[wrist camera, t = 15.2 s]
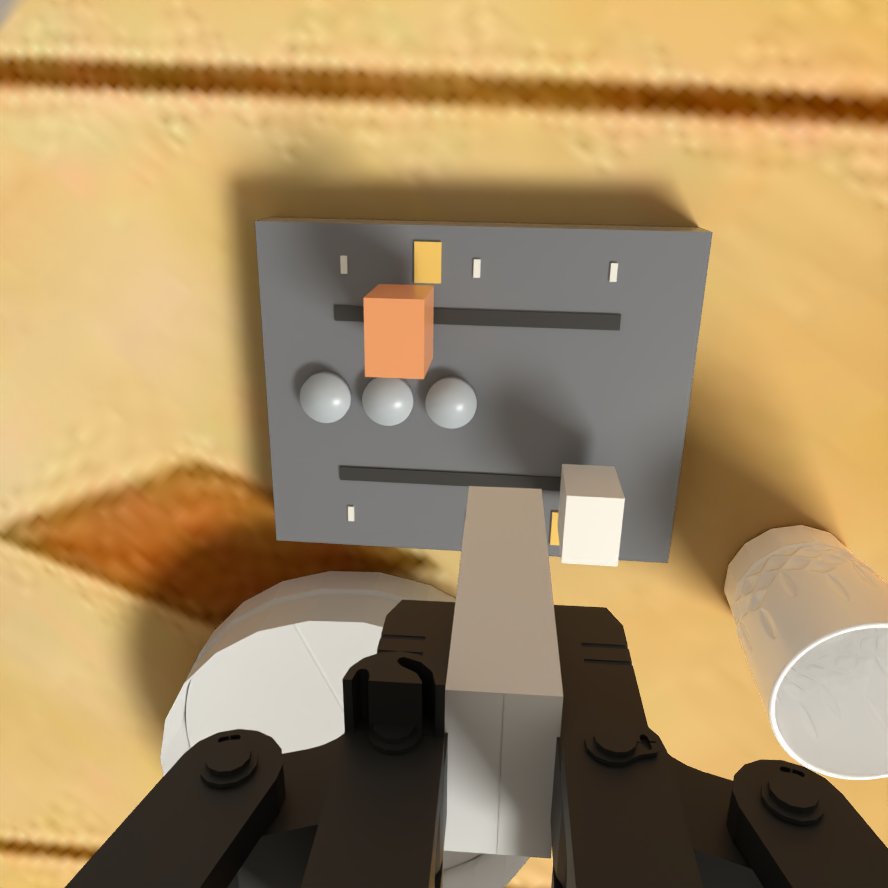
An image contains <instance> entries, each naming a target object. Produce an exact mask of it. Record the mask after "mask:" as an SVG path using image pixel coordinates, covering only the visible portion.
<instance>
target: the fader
mask: <svg viewBox="0 0 888 888" xmlns="http://www.w3.org/2000/svg"><path fill="white" fill-rule="evenodd" d="M363 301H364V350H365V377H381V378H405V379H424V378H425V375H426V373H427V371H428V368H429V366H430V364H431V361H432V359H433V316H434V286H432V285H400V284H378V285H377V286H376V287H375V288H374V289H373V290H372V291H370V292H369V293H368V294H367V295H366V296H365V297H364V298H363Z"/></svg>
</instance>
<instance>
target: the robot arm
mask: <svg viewBox="0 0 888 888" xmlns="http://www.w3.org/2000/svg"><path fill="white" fill-rule="evenodd" d="M342 682H343V704H344V727H345V732H344V734H342V735H341V736H340V737H338V738H337V739H335V740H333V741H330V742H328V743H326V744H324V745H321V746H317V747H314V748H310V749H305V750H300V751H294V752H289V753H283V754H282V749H281V748H280V746H279V745H278V744H277V743H276V741H275V740H274V739H273V738H272V737H270V736H268V735H266V734H264V733H261V732H259V731H256V730H245V729H235V730H229V731H224V732H218V733H216V734H214V735H212V736H209V737H207V738H205V739H203V740H200V741H199V742H197V743H196V744H195V745H194V746H193V747H191V748H190V749H189V750H188V751H187V752H185V753H184V754H183V755H182V756H181V758H180V759H179V760H178V761H177V762H176V763H175V764H174V765H173V767H172V768H171V769H170V770H169V771H168V772H167V773H166V774H165V776H164V777H163V778H162V779H161V780H160V781H159V782H158V783H157V784H156V786H155V787H154V788H153V789H152V790H151V791H150V792H149V793H148V795H147V796H146V797H145V798H144V799H143V800H142V801H141V802H140V804H139V805H138V806H137V807H136V808H135V809H134V810H133V811H132V813H131V814H130V815H129V816H128V817H127V818H126V819H125V820H124V822H123V823H122V824H121V825H120V826H119V827H118V828H117V829H116V831H115V832H114V833H113V834H112V835H111V836H110V837H109V838H108V840H107V841H106V842H105V843H104V844H103V845H102V846H101V847H100V848H99V850H98V851H97V852H96V853H95V854H94V855H93V856H92V857H91V859H90V860H89V861H88V862H87V863H86V864H85V865H84V866H83V868H82V869H81V870H80V871H79V872H78V873H77V874H76V875H75V877H74V878H73V879H72V880H71V881H70V882H69V883H68V884H67V886H66V887H65V888H442V887H443V852H444V851H457V852H471V853H485V854H499V855H512V856H526V857H540V858H551V849H552V852H553V873H552V886H551V888H888V848H887V847H886V846H885V845H884V843H883V842H882V841H881V840H880V839H879V837H878V836H877V835H876V834H875V833H874V831H873V830H872V829H871V828H870V827H869V825H868V824H867V823H866V822H865V821H864V819H863V818H862V817H861V816H860V815H859V813H858V812H857V811H856V810H855V809H854V807H853V806H852V805H851V804H850V803H849V801H848V800H847V799H846V798H845V797H844V795H843V794H842V793H841V792H840V791H838V790H837V789H836V788H835V787H834V786H833V785H832V784H831V783H830V782H829V781H827V780H826V779H825V778H823V777H822V776H820V775H818V774H816V773H814V772H813V771H811V770H809V769H807V768H805V767H803V766H799V765H796V764H793V763H789V762H786V761H782V760H758V761H755V762H752V763H748V764H745V765H744V766H743V767H742V768H741V769H740V770H739V771H738V772H737V773H736V774H735V775H734V780H733V781H732V780H728V779H725V778H722V777H718V776H715V775H712V774H709V773H705V772H702V771H700V770H697V769H694V768H692V767H689V766H687V765H685V764H683V763H682V762H680V761H678V760H676V759H675V758H673V757H672V756H670V755H669V754H668V753H667V750H666V749H665V747H664V745H663V743H662V741H661V739H660V737H659V736H658V735H657V734H655V733H654V732H653V731H652V730H651V729H650V728H649V727H648V725H647V721H646V717H645V713H644V709H643V705H642V701H641V697H640V693H639V689H638V685H637V681H636V677H635V673H634V669H633V666H632V661H631V657H630V653H629V649H628V645H627V641H626V637H625V633H624V629H623V625H622V624H621V623H620V622H619V621H618V620H617V619H616V618H615V617H614V616H613V615H612V613H611V612H610V611H609V610H608V609H607V608H603V607H583V606H563V605H554V604H553V594H552V585H551V575H550V566H549V556H548V547H547V537H546V528H545V518H544V509H543V499H542V490H541V489H531V488H506V487H481V486H469V491H468V500H467V508H466V517H465V525H464V534H463V542H462V551H461V560H460V568H459V577H458V585H457V594H456V602H442V601H422V600H401V601H400V602H399V603H398V604H397V605H396V606H395V607H394V608H393V609H392V610H391V611H390V612H389V613H388V614H387V615H386V618H385V622H384V625H383V629H382V633H381V638H380V640H379V644H378V648H377V654H374V655H371V656H368V657H365V658H363V659H361V660H360V661H358V662H357V663H355V664H354V665H353V666H351V667H350V668H349V670H348V671H347V673H346V674H345V676H344V677H343V679H342Z"/></svg>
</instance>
